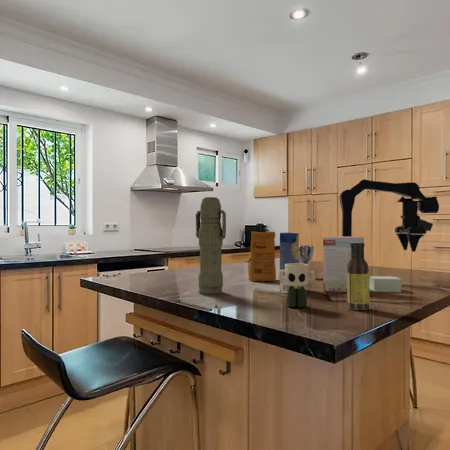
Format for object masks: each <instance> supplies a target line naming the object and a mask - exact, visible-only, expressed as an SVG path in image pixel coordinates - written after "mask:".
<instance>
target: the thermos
mask: <svg viewBox="0 0 450 450" xmlns="http://www.w3.org/2000/svg"><path fill="white" fill-rule="evenodd" d="M221 219H222V223H221ZM226 231H227V213H226V211H225V210H223V209H222V205H221V202H220V198H218V197H216V196H214V197H210V196H209V197H205V196H204V198H202V200H201V203H200V210H198V211H196V214H195V237H196V238H197V239H198V246H199V273H198V294H199V295H205V296H210V295H211V296H216V295H217V296H218V295H221V294H223V287H224V284H223V283H224V274H223V271H222V247H223V243H224V242H223V240H224V239H226V236H227V232H226Z"/></svg>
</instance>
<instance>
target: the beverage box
mask: <svg viewBox="0 0 450 450" xmlns="http://www.w3.org/2000/svg"><path fill="white" fill-rule="evenodd" d="M299 236H300V233H299V232H280V233H279V270H285V264H289V263H300V260H299V246H300V245H299V244H300V237H299ZM282 277H285V273H282ZM289 287H290V286H289V285H287V284H286V283H285V281H283V280H279V294H287V293H288V288H289Z"/></svg>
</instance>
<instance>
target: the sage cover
mask: <svg viewBox="0 0 450 450" xmlns="http://www.w3.org/2000/svg"><path fill="white" fill-rule="evenodd" d="M369 290H371V291H373V292H374V293H375V292H376V293H377V292H378V293H379V292H380V293H402V278H399V277H398V276H387V275H386V276H381V275H380V276H379V275H372V276H371V275H369Z"/></svg>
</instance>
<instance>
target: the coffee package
mask: <svg viewBox="0 0 450 450" xmlns="http://www.w3.org/2000/svg"><path fill="white" fill-rule="evenodd" d="M275 238H276V232H275V231H267V232H266V231H265V232H259V231H251V238H250V239H251V240H250V251H249V259H248V264H247V270H248V281H249V280H250V281H249V282H251V281H253V282H261V281H273V282H275V281H276V278H277V270H276V269H277V268H276V258H275V257H276V247H275Z"/></svg>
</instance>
